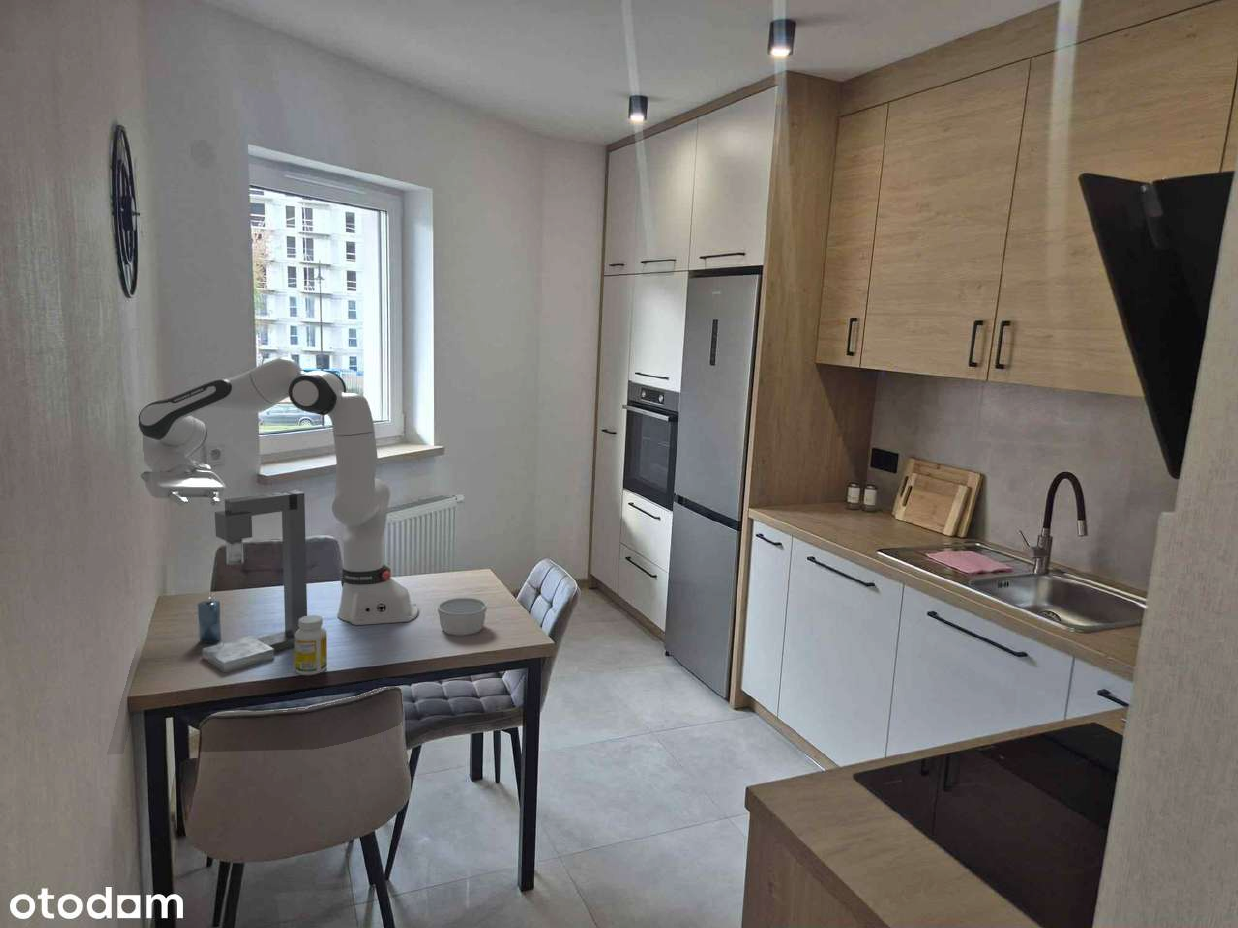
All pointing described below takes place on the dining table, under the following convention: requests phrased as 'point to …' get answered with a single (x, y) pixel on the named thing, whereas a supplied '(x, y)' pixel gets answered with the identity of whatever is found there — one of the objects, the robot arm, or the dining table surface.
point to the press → (239, 526)
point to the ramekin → (462, 616)
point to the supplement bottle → (310, 646)
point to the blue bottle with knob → (209, 621)
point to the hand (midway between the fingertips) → (201, 504)
